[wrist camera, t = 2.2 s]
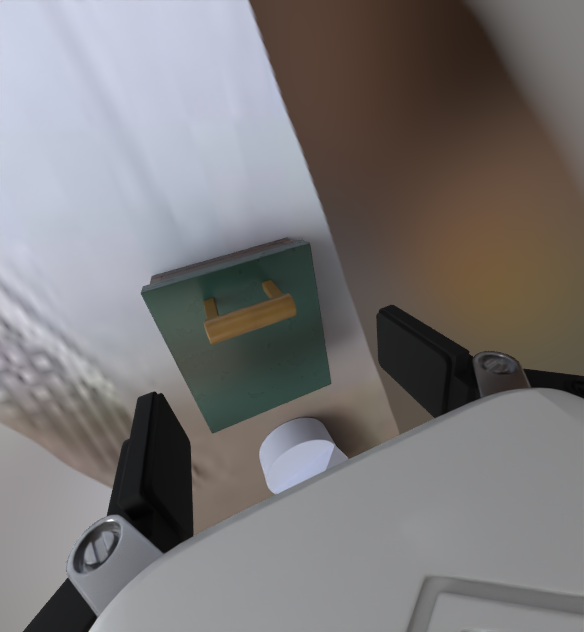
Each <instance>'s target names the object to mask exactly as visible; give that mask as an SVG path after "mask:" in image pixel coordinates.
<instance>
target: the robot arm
mask: <svg viewBox="0 0 584 632" xmlns="http://www.w3.org/2000/svg"><path fill="white" fill-rule="evenodd" d="M376 318H377V339H378V361H379V364H380V366H381V367H382V368H383V369H384V370H385V371H386V372H387V373H388V374H389V375H390V376H391V377H392V378H393V379H394V380H395V381H396V382H398V383H399V384H400V385H401V386H402V387H403V388H404V389H405V390H406V391H407V392H408V393H409V394H410V395H411V396H412V397H413V398H414V399H415V400H416V401H417V402H418V403H419V404H420V405H422V406H423V407H424V408H425V409H426V410H427V411H428V412H429V413H430V414H431V415H432V416H433V417H434V418H435V419H433V420H431V421H428V422H426V423H425V424H422V425H420V426H418V427H416V428H414V429H412V430H410V431H407V432H405V433H403V434H401V435H399V436H397V437H395V438H392V439H390V440H388V441H386V442H384V443H382V444H380V445H378V446H376V447H373V448H371V449H369V450H367V451H365V452H363V453H361V454H359V455H357V456H355V457H353V458H350V459H348V460H346V461H344V462H342V463H340V464H338V465H336V466H334V467H332V468H330V469H328V470H325V471H323V472H321V473H319V474H317V475H315V476H313V477H311V478H309V479H307V480H305V481H303V482H301V483H299V484H296V485H294V486H292V487H290V488H288V489H286V490H284V491H282V492H280V493H278V494H276V495H274V496H272V497H270V498H268V499H266V500H263V501H261V502H259V503H257V504H255V505H253V506H251V507H249V508H247V509H245V510H243V511H241V512H239V513H237V514H235V515H233V516H231V517H229V518H227V519H225V520H223V521H221V522H219V523H217V524H215V525H213V526H212V527H210V528H208V529H206V530H204V531H202V532H200V533H198V534H196V535H195V536H193V503H192V473H191V446H190V441H189V439H188V437H187V435H186V433H185V431H184V430H183V428H182V426H181V425H180V423H179V421H178V419H177V418H176V416H175V414H174V412H173V411H172V409H171V407H170V405H169V404H168V402H167V400H166V399H165V397H164V395H163V394H162V393H160V394H157V393H156V392H151V393H149V394H146V395H143V396H140V397H139V398H138V400H137V404H136V409H135V415H134V420H133V425H132V430H131V435H130V439H128V440H125V441H124V443H123V445H122V449H121V453H120V458H119V462H118V467H117V472H116V476H115V481H114V485H113V490H112V494H111V499H110V503H109V508H108V512H107V516H106V517H104V518H102V519H100V520H98V521H97V522H95V523H94V524H92V525H91V526H90V527H89V528H88V529H87V530H86V531H85V532H84V533H83V534H82V535H81V537H80V538H79V539H78V540H77V541H76V543H75V545H74V547H73V548H72V550H71V552H70V555H69V557H68V560H67V566H66V572H67V575H68V578H67V579H66V580H65V582H64V583H63V584H62V585H61V586H60V588H59V589H58V590H57V591H56V593H55V594H54V595H53V596H52V597H51V599H50V600H49V601H48V602H47V603H46V605H45V606H44V607H43V608H42V609H41V610H40V612H39V613H38V614H37V615H36V616H35V618H34V619H33V620H32V621H31V623H30V624H29V625H28V626H27V627H26V629H25V630H24V631H23V632H584V376H579V375H571V374H563V373H554V372H546V371H538V370H530V369H523V368H522V366H521V364H520V363H519V361H517V360H516V359H515V358H514V357H512V356H509V355H507V354H504V353H501V352H495V351H484V352H480V353H478V354H476V355H475V356H474V357H473V356H471V355H470V354H469V351H468V350H467V349H465V348H463V347H461V346H460V345H459V344H457V343H455V342H454V341H452V340H450V339H449V338H447V337H445V336H444V335H442V334H440V333H439V332H437V331H436V330H434V329H432V328H431V327H429V326H427V325H426V324H424V323H422V322H421V321H419V320H417V319H416V318H414V317H413V316H411V315H409V314H407V313H406V312H404V311H403V310H401V309H399V308H398V307H396V306H394V305H390V306H387V307H384V308H381V309H380V310H379V313H378V314H377V317H376Z"/></svg>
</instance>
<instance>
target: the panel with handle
mask: <svg viewBox="0 0 584 632" xmlns="http://www.w3.org/2000/svg"><path fill="white" fill-rule="evenodd" d="M141 295H142V297H143V299H144V301H145V303H146V305H147V307H148V309H149V311H150V313H151V315H152V317H153V319H154V321H155V323H156V325H157V326H158V328H159V330H160V332H161V334H162V336H163V338H164V340H165V342H166V344H167V346H168V348H169V350H170V352H171V354H172V356H173V358H174V360H175V362H176V364H177V366H178V368H179V370H180V372H181V374H182V375H183V377H184V379H185V381H186V383H187V385H188V387H189V389H190V391H191V393H192V395H193V397H194V399H195V401H196V403H197V405H198V407H199V409H200V411H201V413H202V415H203V417H204V419H205V421H206V423H207V424H208V426H209V428H210V430H211V432H212V433H215V432H217V431H220V430H222V429H225V428H227V427H229V426H232V425H234V424H237V423H239V422H241V421H244V420H246V419H249V418H251V417H253V416H256V415H258V414H260V413H263V412H265V411H268V410H270V409H272V408H275V407H277V406H280V405H282V404H284V403H287V402H289V401H292V400H294V399H296V398H299V397H301V396H303V395H306V394H308V393H311V392H313V391H315V390H318V389H320V388H323V387H325V386H327V385H330V384H331V378H330V372H329V365H328V359H327V352H326V346H325V339H324V333H323V326H322V320H321V313H320V307H319V300H318V294H317V287H316V281H315V274H314V267H313V261H312V254H311V248H310V243H308V242H306V241H305V240H301V241H297V242H294V243H291V244H287V245H284V246H280V247H277V248H273V249H270V250H267V251H263V252H260V253H256V254H253V255H249V256H246V257H243V258H239V259H236V260H232V261H229V262H225V263H222V264H218V265H215V266H212V267H208V268H205V269H201V270H198V271H194V272H191V273H188V274H184V275H181V276H177V277H174V278H170V279H167V280H164V281H160V282H157V283H153V284H150V285H146V286H143V287H142V291H141Z"/></svg>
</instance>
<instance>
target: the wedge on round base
mask: <svg viewBox="0 0 584 632" xmlns="http://www.w3.org/2000/svg"><path fill="white" fill-rule="evenodd" d="M259 457H260V462H261V465H262V468H263V472H264V475H265V479H266V482H267V486H268V488H269V489H270V490H271V491H272V492H273V493H275V494H278V493H280V492H282V491H284V490H286V489H288V488H290V487H292V486H294V485H296V484H299V483H301V482H303V481H305V480H307V479H309V478H311V477H313V476H315V475H317V474H319V473H321V472H323V471H325V470H328V469H330V468H332V467H334V466H336V465H338V464H340V463H342V462H344V461H346V460H348V459H349V458H348V457H347V456H346V455H345V454H344V453H343V452H342V451H341V450H340V449H339V448H338V447H337V446H336V445H335V443H334V442H333V440H332V438H331V436H330V435H329V433H328V431H327V429H326V428H325V426H324V425H323V423H321V422H320V421H319V420H317V419H314V418H298V419H294V420H291V421H288V422H286V423H284V424H282V425H280V426H279V427H277V428H276V429H275V430H273V431H272V432H271V433H270V434H269V435H268V436H267V437H266V439H265V440H264V442H263V443H262V445H261V448H260V452H259Z"/></svg>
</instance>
